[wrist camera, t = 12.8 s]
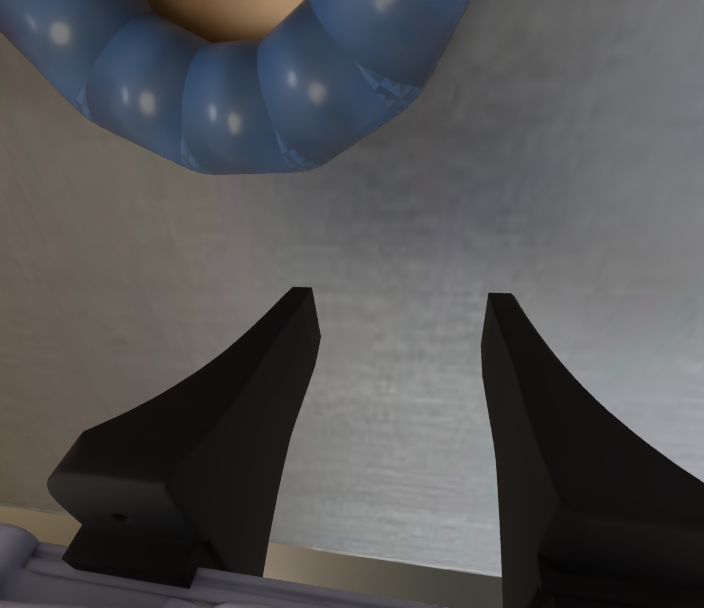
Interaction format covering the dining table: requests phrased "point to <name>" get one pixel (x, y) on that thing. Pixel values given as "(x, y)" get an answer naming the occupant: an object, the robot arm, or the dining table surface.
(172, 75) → the ring
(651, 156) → the dining table surface
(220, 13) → the stand
